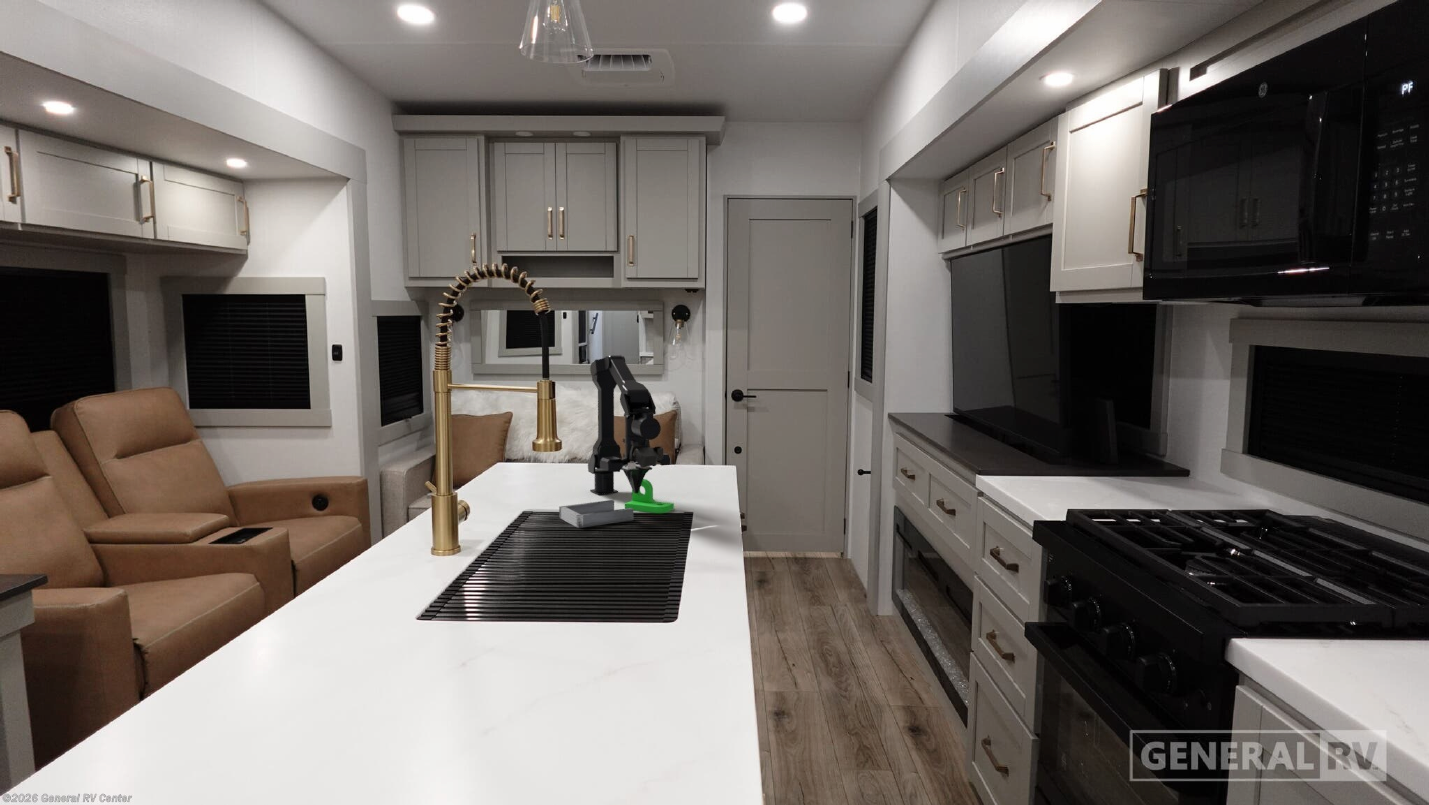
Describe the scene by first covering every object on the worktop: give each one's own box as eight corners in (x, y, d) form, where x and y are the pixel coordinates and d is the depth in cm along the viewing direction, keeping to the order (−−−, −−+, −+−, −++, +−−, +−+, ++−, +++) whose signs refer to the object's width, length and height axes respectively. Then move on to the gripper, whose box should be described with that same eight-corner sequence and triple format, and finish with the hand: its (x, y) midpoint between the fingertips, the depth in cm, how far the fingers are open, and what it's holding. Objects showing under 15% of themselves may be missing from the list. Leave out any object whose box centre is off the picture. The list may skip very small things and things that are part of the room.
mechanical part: (624, 510, 204) (624, 481, 203) (635, 506, 210) (635, 478, 209) (663, 515, 199) (663, 485, 199) (673, 510, 205) (673, 481, 204)
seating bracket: (559, 517, 194) (559, 506, 194) (612, 510, 203) (612, 500, 203) (578, 528, 184) (578, 516, 184) (633, 520, 193) (633, 508, 192)
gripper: (617, 441, 186) (618, 502, 188) (681, 436, 197) (681, 494, 198) (598, 436, 195) (599, 495, 197) (660, 431, 206) (660, 487, 207)
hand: (636, 493), depth 199 cm, fingers closed
